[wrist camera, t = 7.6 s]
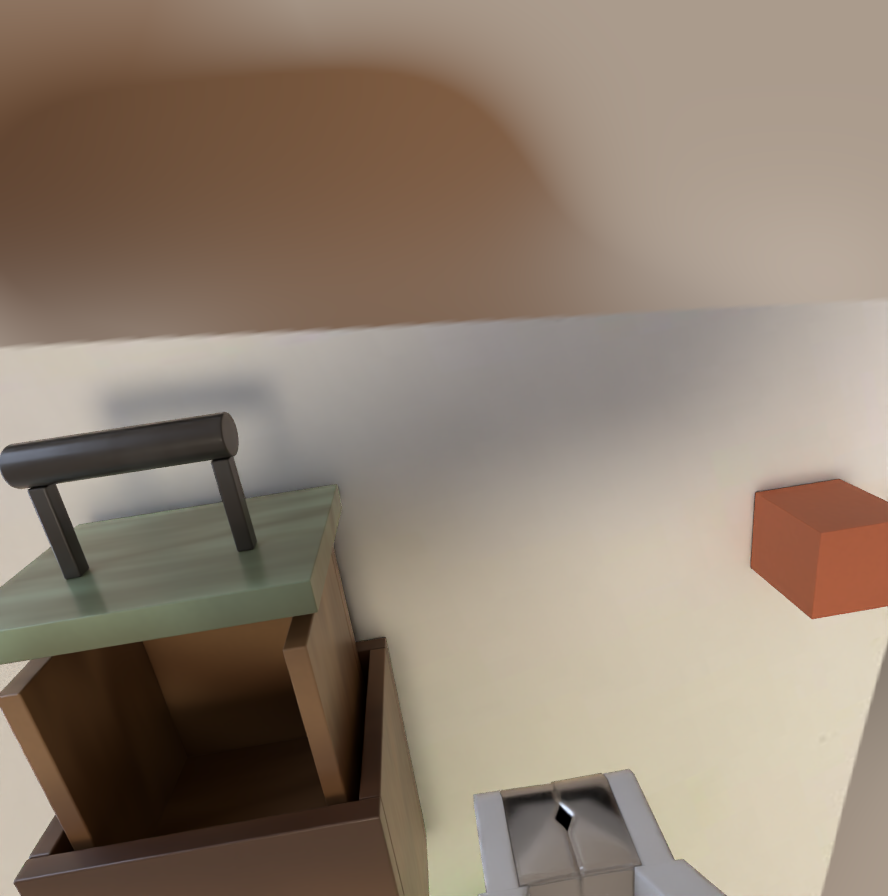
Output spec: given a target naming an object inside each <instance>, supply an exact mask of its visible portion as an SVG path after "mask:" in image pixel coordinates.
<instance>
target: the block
mask: <svg viewBox="0 0 888 896" xmlns="http://www.w3.org/2000/svg"><path fill="white" fill-rule="evenodd" d="M751 568H752V569H753V570H754V571H755V572H756V573H758V574H759V575H760V576H761V577H762V578H764V579H765V580H766V581H767V582H768V583H769V584H771V585H772V586H773V587H774V588H775V589H777V590H778V591H779V592H780V593H781V594H783V595H784V596H785V597H786V598H787V599H788V600H790V601H791V602H792V603H793V604H794V605H796V606H797V607H798V608H799V609H800V610H802V611H803V612H804V613H805V614H806V615H807V616H809V617H810V618H811V619H816V618H821V617H827V616H833V615H839V614H845V613H851V612H857V611H862V610H868V609H874V608H880V607H886V606H888V502H887V501H885V500H883V499H881V498H879V497H876V496H874V495H872V494H870V493H868V492H866V491H864V490H862V489H860V488H857V487H855V486H853V485H851V484H849V483H847V482H845V481H843V480H841V479H836V480H830V481H824V482H817V483H811V484H805V485H799V486H793V487H786V488H780V489H774V490H768V491H762V492H756V493H755V509H754V525H753V541H752V557H751Z"/></svg>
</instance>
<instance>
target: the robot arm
mask: <svg viewBox="0 0 888 896" xmlns="http://www.w3.org/2000/svg"><path fill="white" fill-rule="evenodd" d="M473 797H474V808H475V815H476V822H477V830H478V837H479V844H480V851H481V858H482V866H483V873H484V880H485V887H486V893H482V894H478V896H727V895H725V894H724V893H723V892H722V891H721V890H719V889H718V888H717V887H716V886H715V885H713V884H712V883H711V882H710V881H709V880H707V879H706V878H705V877H704V876H703V875H702V874H700V873H699V872H698V871H697V870H696V869H694V868H693V867H692V866H691V865H690V864H688V863H687V862H686V861H685V860H684V859H680V860H675V859H674V857H673V855H672V853H671V851H670V849H669V847H668V845H667V842H666V840H665V838H664V836H663V834H662V832H661V830H660V828H659V825H658V823H657V821H656V819H655V817H654V815H653V813H652V811H651V808H650V806H649V804H648V802H647V800H646V798H645V796H644V794H643V791H642V789H641V787H640V785H639V783H638V781H637V779H636V777H635V774H634V773H633V772H632V771H631V770H630V769H625V770H620V771H615V772H609V773H604V774H602V773H598V774H593V775H587V776H582V777H576V778H571V779H565V780H560V781H554V782H551V783H550V784H543V785H535V786H528V787H521V788H514V789H506V790H501V791H500V790H498V791H492V792H486V793H480V794H474V796H473Z"/></svg>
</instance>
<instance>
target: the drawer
mask: <svg viewBox="0 0 888 896" xmlns="http://www.w3.org/2000/svg"><path fill="white" fill-rule="evenodd" d="M237 451H238V433H237V428H236V425H235V423H234V420H233V418H232V417H231V415H230V414H229V413H226V412H222V413H215V414H209V415H202V416H195V417H189V418H182V419H175V420H169V421H162V422H155V423H149V424H142V425H135V426H129V427H122V428H115V429H109V430H102V431H95V432H89V433H82V434H75V435H69V436H62V437H55V438H49V439H42V440H36V441H29V442H22V443H16V444H11V445H8V446H7V447H5V448H4V449H3V451H2V452H1V455H0V472H1V475H2V477H3V478H4V480H5V481H6V482H7V483H8V484H9V485H10V486H12V487H14V488H17V489H25V488H30V489H28V494H29V496H30V499H31V501H32V503H33V506H34V508H35V510H36V513H37V515H38V517H39V520H40V522H41V524H42V527H43V529H44V531H45V534H46V536H47V538H48V541H49V543H50V545H51V547H50V548H49V549H48V550H46V551H45V552H44V553H43V554H41V555H40V556H39V557H38V558H36V559H35V560H34V561H33V562H31V563H30V564H29V565H28V566H26V567H25V568H24V569H23V570H21V571H20V572H19V573H18V574H16V575H15V576H14V577H13V578H11V579H10V580H9V581H8V582H6V583H5V584H4V585H3V586H1V587H0V665H1V664H7V663H13V662H20V661H26V660H30V661H29V662H28V664H27V665H26V666H25V667H24V668H23V669H22V670H21V671H20V672H19V673H18V674H17V675H16V676H15V677H14V678H13V680H12V681H11V682H10V683H9V684H8V685H7V686H6V687H5V688H4V689H3V690H2V691H1V692H0V709H1V711H2V712H3V714H4V716H5V718H6V720H7V722H8V724H9V726H10V728H11V730H12V732H13V734H14V736H15V737H16V739H17V741H18V743H19V745H20V747H21V749H22V751H23V753H24V755H25V757H26V759H27V760H28V762H29V764H30V766H31V768H32V770H33V772H34V774H35V776H36V778H37V780H38V782H39V783H40V785H41V787H42V789H43V791H44V793H45V795H46V797H47V799H48V801H49V803H50V805H51V807H52V808H53V810H54V812H55V814H56V816H57V818H58V820H59V822H60V824H61V826H62V828H63V830H64V831H65V833H66V835H67V837H68V839H69V841H70V843H71V845H72V847H73V849H74V851H77V850H82V849H88V848H94V847H99V846H105V845H111V844H116V843H122V842H127V841H133V840H139V839H144V838H150V837H156V836H161V835H167V834H173V833H178V832H184V831H190V830H195V829H201V828H206V827H212V826H218V825H223V824H229V823H235V822H240V821H246V820H252V819H257V818H263V817H268V816H274V815H280V814H285V813H291V812H297V811H302V810H308V809H314V808H319V807H325V806H330V805H336V804H342V803H347V802H353V801H359V794H360V780H361V766H362V752H363V739H364V725H365V711H366V697H367V691H366V686H365V682H364V678H363V673H362V669H361V665H360V660H359V656H358V651H357V647H356V643H355V638H354V634H353V630H352V625H351V621H350V617H349V612H348V608H347V604H346V599H345V595H344V590H343V586H342V582H341V577H340V573H339V569H338V564H337V560H336V556H335V551H334V547H333V545H334V541H335V536H336V532H337V528H338V523H339V519H340V515H341V511H342V504H341V500H340V495H339V491H338V486H337V484H336V485H329V486H323V487H316V488H310V489H304V490H297V491H291V492H284V493H278V494H272V495H265V496H259V497H252V498H246V499H245V496H244V493H243V489H242V486H241V482H240V479H239V475H238V472H237V468H236V465H235V461H234V457H233V456H235V455H236V454H237ZM208 460H212V461H211V465H212V468H213V471H214V475H215V478H216V481H217V485H218V488H219V491H220V495H221V498H222V502H220V503H214V504H207V505H201V506H195V507H188V508H182V509H175V510H169V511H163V512H156V513H150V514H143V515H137V516H131V517H124V518H118V519H111V520H105V521H99V522H92V523H86V524H79V525H78V526H76V527H75V528H73V526H72V523H71V521H70V518H69V516H68V513H67V511H66V508H65V506H64V503H63V501H62V498H61V496H60V493H59V491H58V489H57V486H56V484H58V483H64V482H71V481H77V480H84V479H90V478H97V477H104V476H110V475H117V474H123V473H130V472H136V471H143V470H149V469H156V468H162V467H169V466H175V465H182V464H188V463H195V462H201V461H208Z"/></svg>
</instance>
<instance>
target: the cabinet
mask: <svg viewBox="0 0 888 896" xmlns="http://www.w3.org/2000/svg"><path fill="white" fill-rule="evenodd" d="M355 643H356V647H357V651H358V656H359V660H360V665H361V669H362V673H363V678H364V682H365V686H366V691H367V697H366V711H365V725H364V739H363V752H362V766H361V780H360V794H359V801H353V802H347V803H342V804H336V805H330V806H325V807H319V808H314V809H308V810H302V811H297V812H291V813H285V814H280V815H274V816H268V817H263V818H257V819H252V820H246V821H240V822H235V823H229V824H223V825H218V826H212V827H206V828H201V829H195V830H190V831H184V832H178V833H173V834H167V835H161V836H156V837H150V838H144V839H139V840H133V841H127V842H122V843H116V844H111V845H105V846H99V847H94V848H88V849H82V850H77V851H74V849H73V847H72V845H71V843H70V841H69V839H68V837H67V835H66V833H65V831H64V830H63V828H62V826H61V824H60V822H59V820H58V818H57V816H56V815H55V816H54V818H53V819H52V821H51V823H50V824H49V826H48V827H47V829H46V831H45V832H44V834H43V835H42V837H41V838H40V840H39V842H38V843H37V845H36V846H35V848H34V850H33V851H32V853H31V854H30V856H29V859H28V860H27V861H26V862H25V864H24V866H23V867H22V869H21V870H20V872H19V874H18V875H17V877H16V878H15V880H14V885H15V887H16V888H17V890H18V892H19V893H20V895H21V896H429V879H428V860H427V839H426V831H425V826H424V821H423V816H422V811H421V806H420V802H419V797H418V792H417V787H416V782H415V777H414V772H413V768H412V763H411V758H410V753H409V748H408V743H407V738H406V734H405V729H404V724H403V719H402V714H401V709H400V705H399V700H398V695H397V690H396V685H395V680H394V675H393V671H392V666H391V661H390V656H389V651H388V646H387V641H386V638H385V637H384V638H378V639H372V640H366V641H360V642H355Z"/></svg>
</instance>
